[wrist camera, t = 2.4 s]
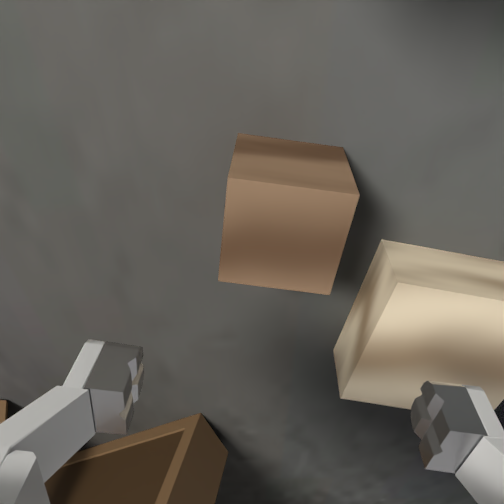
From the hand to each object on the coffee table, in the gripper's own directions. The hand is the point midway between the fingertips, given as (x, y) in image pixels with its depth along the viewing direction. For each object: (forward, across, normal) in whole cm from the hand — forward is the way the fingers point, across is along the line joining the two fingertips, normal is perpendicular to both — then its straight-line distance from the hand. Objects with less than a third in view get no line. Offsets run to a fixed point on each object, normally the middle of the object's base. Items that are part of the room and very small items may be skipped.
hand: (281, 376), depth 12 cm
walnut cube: (+11, 0, -1) cm, 11 cm away
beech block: (+12, -10, +6) cm, 17 cm away
